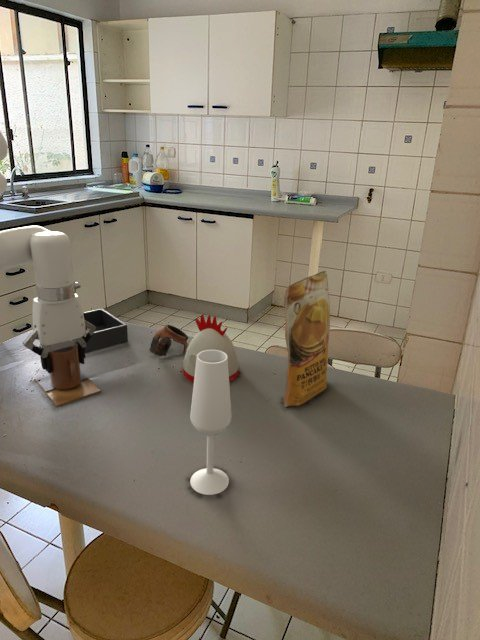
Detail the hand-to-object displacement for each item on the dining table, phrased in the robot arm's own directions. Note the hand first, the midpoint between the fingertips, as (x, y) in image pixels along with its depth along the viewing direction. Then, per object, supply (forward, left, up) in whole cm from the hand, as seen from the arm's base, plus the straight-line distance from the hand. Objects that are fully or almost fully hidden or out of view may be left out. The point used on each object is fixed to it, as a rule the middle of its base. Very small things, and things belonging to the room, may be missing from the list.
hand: (64, 365), depth 105 cm
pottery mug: (-1, +28, -6) cm, 28 cm away
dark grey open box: (-20, +15, -5) cm, 26 cm away
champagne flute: (+45, +7, -6) cm, 46 cm away
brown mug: (+1, 0, -4) cm, 4 cm away
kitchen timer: (+14, +31, -6) cm, 34 cm away
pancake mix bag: (+35, +42, -6) cm, 55 cm away
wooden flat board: (0, 0, -5) cm, 5 cm away
